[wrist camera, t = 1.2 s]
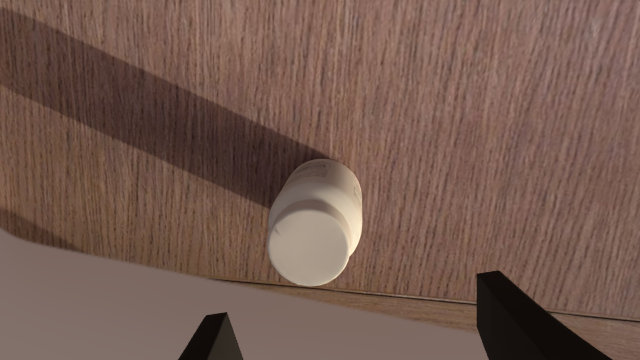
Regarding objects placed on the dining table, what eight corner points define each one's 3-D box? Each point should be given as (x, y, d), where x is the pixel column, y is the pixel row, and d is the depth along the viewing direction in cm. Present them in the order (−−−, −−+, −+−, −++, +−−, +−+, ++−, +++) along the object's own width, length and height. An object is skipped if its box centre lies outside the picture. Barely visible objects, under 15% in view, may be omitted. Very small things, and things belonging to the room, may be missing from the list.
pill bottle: (270, 204, 26) (235, 261, 19) (312, 142, 25) (291, 176, 18) (333, 245, 27) (323, 316, 19) (377, 185, 25) (384, 237, 18)
